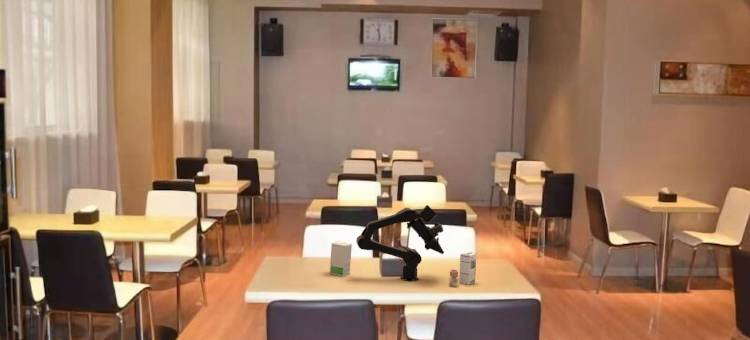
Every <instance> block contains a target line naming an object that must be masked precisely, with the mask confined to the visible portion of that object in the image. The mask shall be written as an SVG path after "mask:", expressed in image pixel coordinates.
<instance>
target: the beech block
mask: <svg viewBox="0 0 750 340" xmlns="http://www.w3.org/2000/svg"><path fill="white" fill-rule="evenodd" d="M448 281H449V282H448V283H449V284H448V287H449V288H458V286H459V276H458V277H452V276H450V275H449V279H448Z"/></svg>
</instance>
